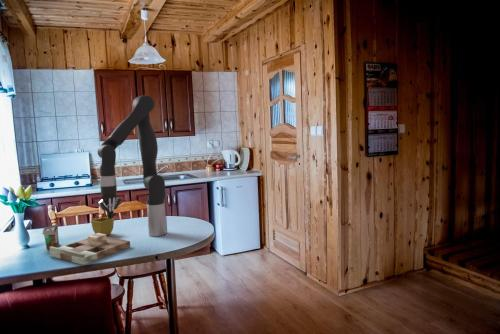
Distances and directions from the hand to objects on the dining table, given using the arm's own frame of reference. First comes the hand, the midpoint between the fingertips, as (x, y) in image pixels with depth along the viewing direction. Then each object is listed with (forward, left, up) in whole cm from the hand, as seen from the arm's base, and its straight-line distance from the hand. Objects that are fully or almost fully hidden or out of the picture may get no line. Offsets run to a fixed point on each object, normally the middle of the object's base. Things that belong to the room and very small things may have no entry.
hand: (110, 218), depth 186 cm
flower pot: (-9, -18, -14) cm, 24 cm away
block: (+9, 0, -10) cm, 14 cm away
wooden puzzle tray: (+12, 0, -13) cm, 18 cm away
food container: (+17, -25, -14) cm, 33 cm away
